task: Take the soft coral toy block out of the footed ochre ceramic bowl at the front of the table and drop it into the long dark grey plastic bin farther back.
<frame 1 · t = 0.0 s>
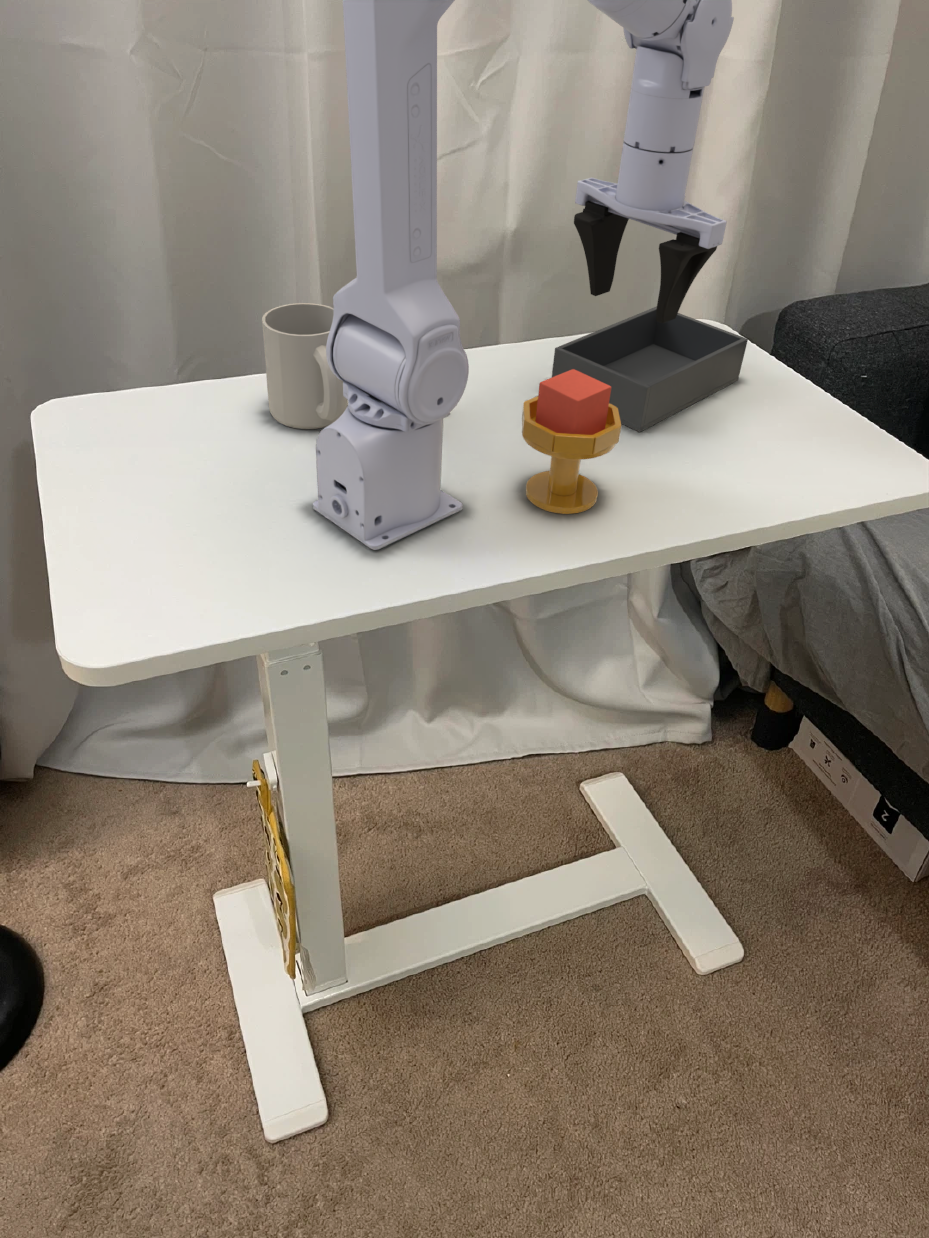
hand: (632, 306, 90), 10 cm above the table, tool pointing down, fingers open, 7 cm apart
bowl: (561, 494, 84), on the table
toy: (569, 430, 80), point 6 cm above the table, touching bowl
cup: (315, 420, 92), on the table
bin: (645, 385, 101), on the table
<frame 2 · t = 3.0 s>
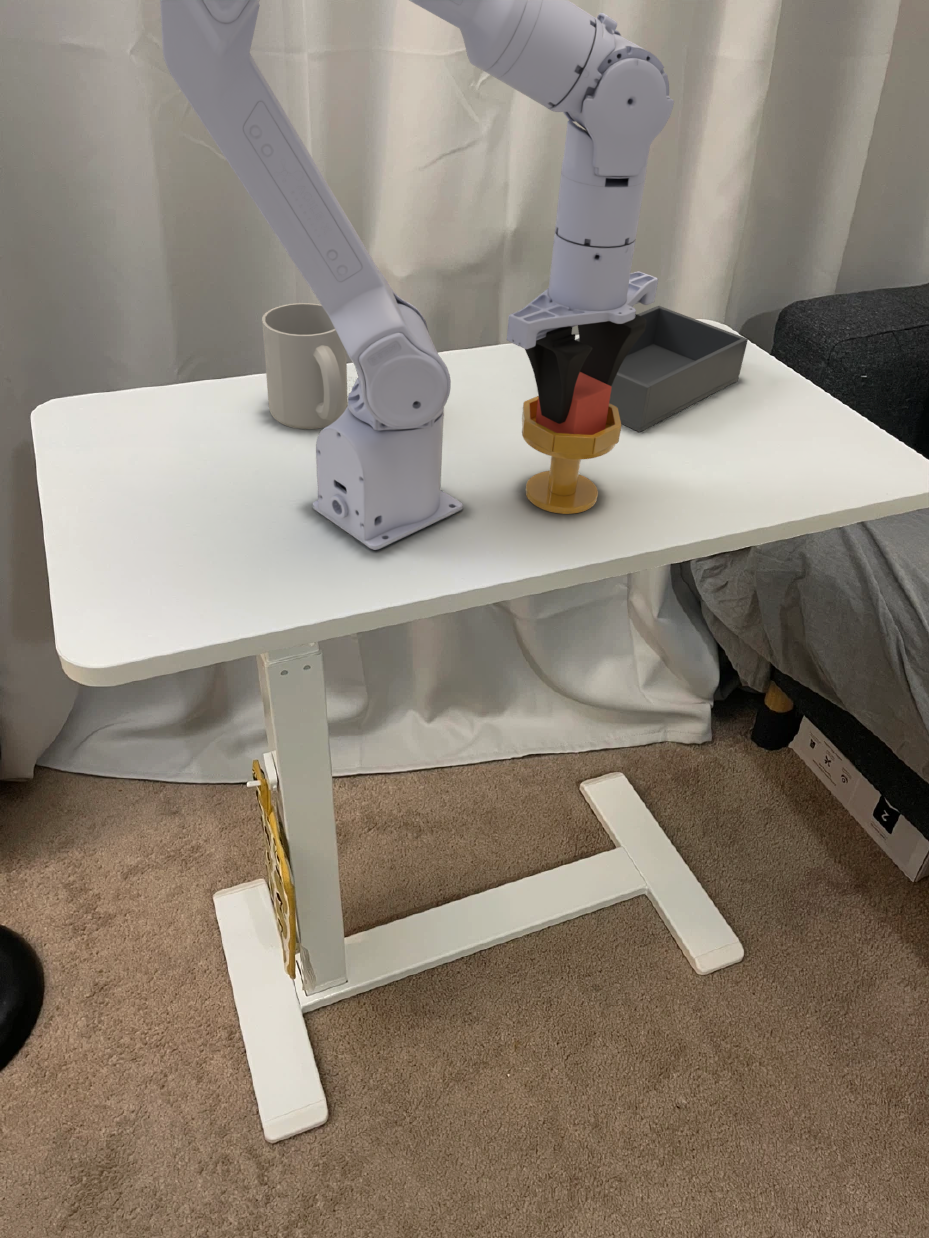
hand: (572, 410, 79), 8 cm above the table, tool pointing down, fingers closed on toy, 4 cm apart
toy: (569, 430, 80), point 6 cm above the table, touching bowl, gripper
everything else where it was.
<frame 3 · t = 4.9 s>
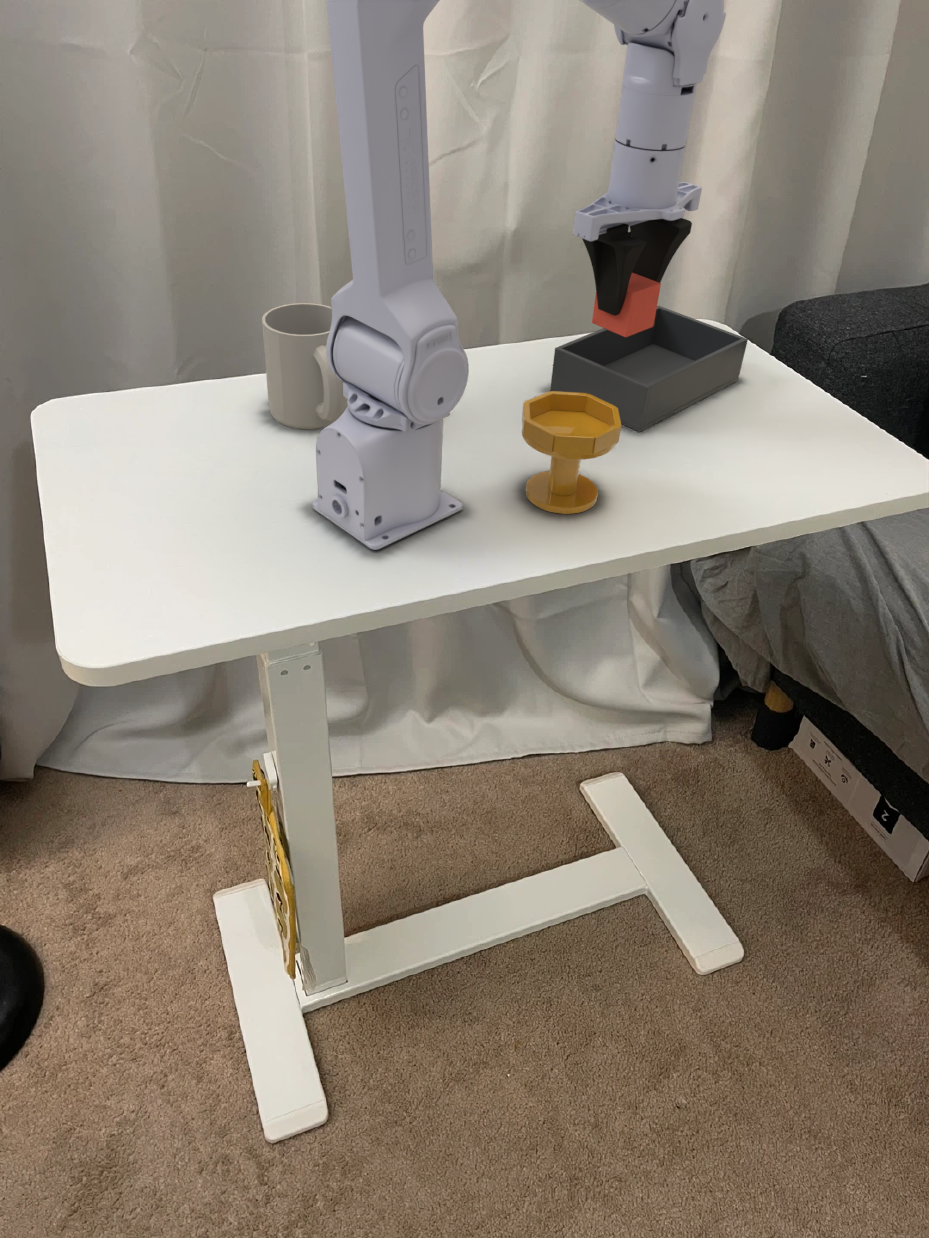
hand: (624, 305, 89), 10 cm above the table, tool pointing down, fingers closed on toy, 4 cm apart
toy: (622, 325, 90), point 9 cm above the table, touching gripper
everything else where it was.
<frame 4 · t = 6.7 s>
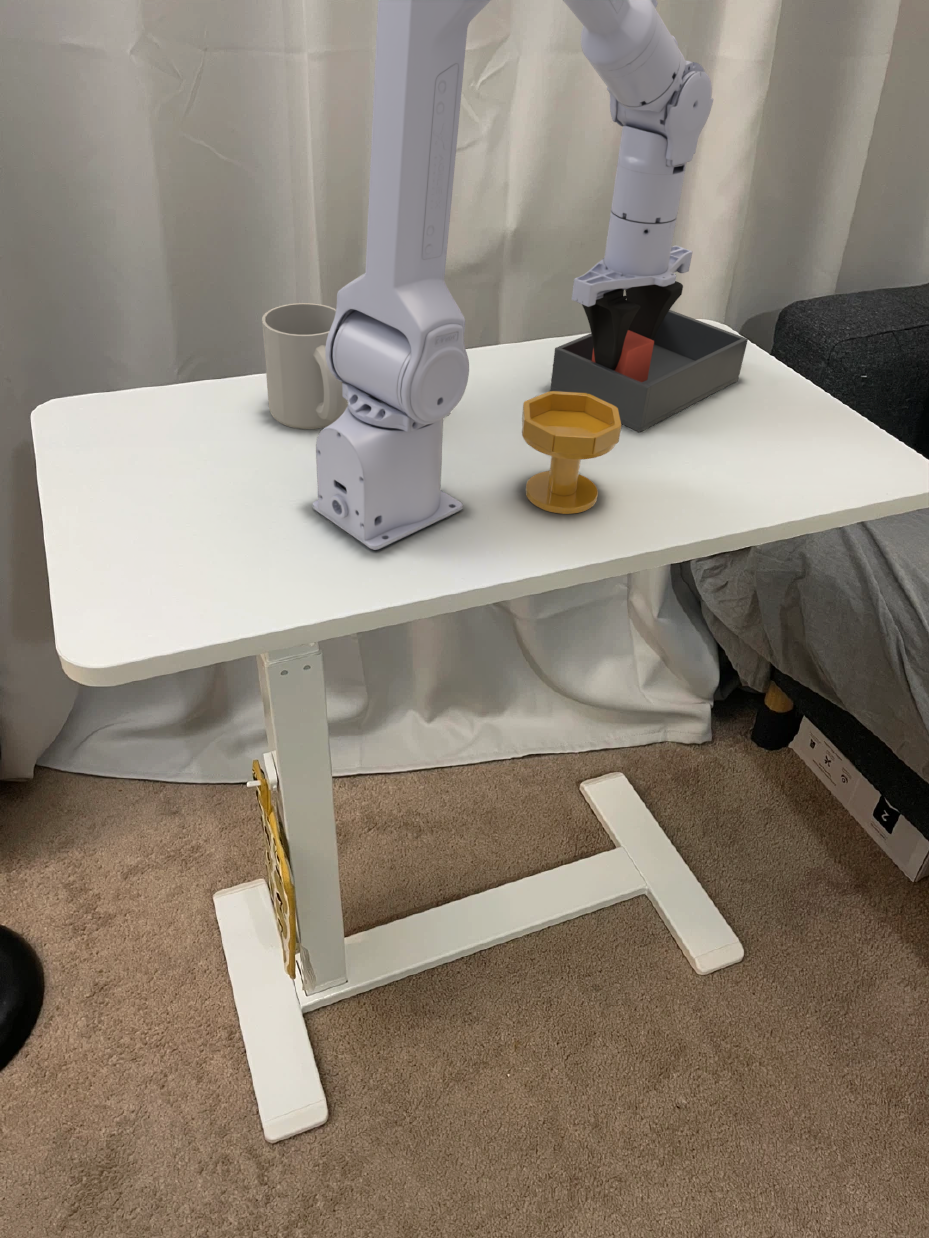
hand: (620, 361, 95), 4 cm above the table, tool pointing down, fingers closed on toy, 4 cm apart
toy: (618, 378, 96), point 2 cm above the table, touching gripper
everything else where it was.
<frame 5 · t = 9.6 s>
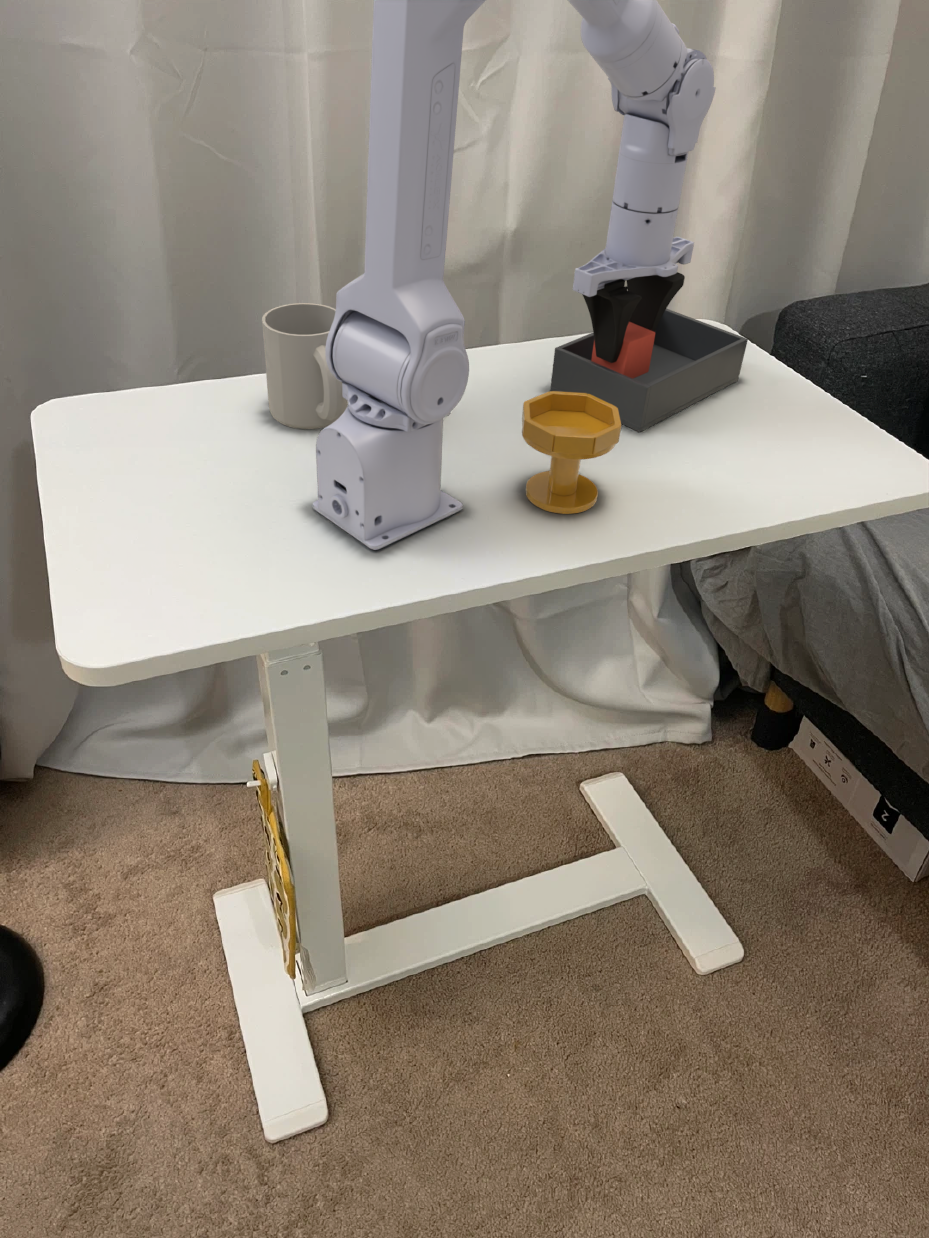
hand: (621, 352, 94), 5 cm above the table, tool pointing down, fingers closed on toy, 4 cm apart
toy: (619, 370, 96), point 3 cm above the table, touching gripper
everything else where it was.
when the fingers open (5 cm above the table, at t = 12.0 s): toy drops 3 cm, resting on bin.
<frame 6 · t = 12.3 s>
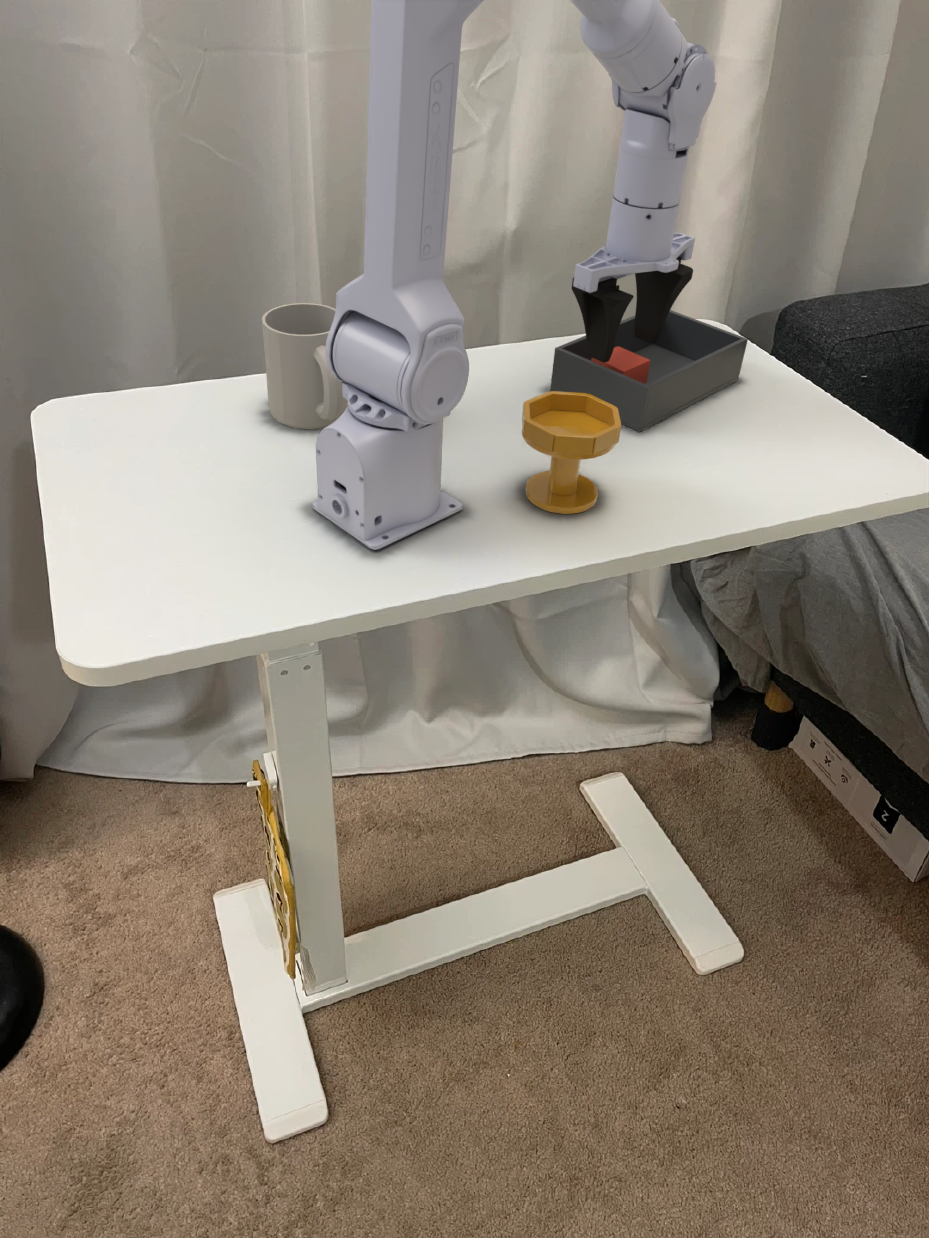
hand: (622, 349, 94), 5 cm above the table, tool pointing down, fingers open, 6 cm apart
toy: (615, 396, 97), resting on bin
everything else where it was.
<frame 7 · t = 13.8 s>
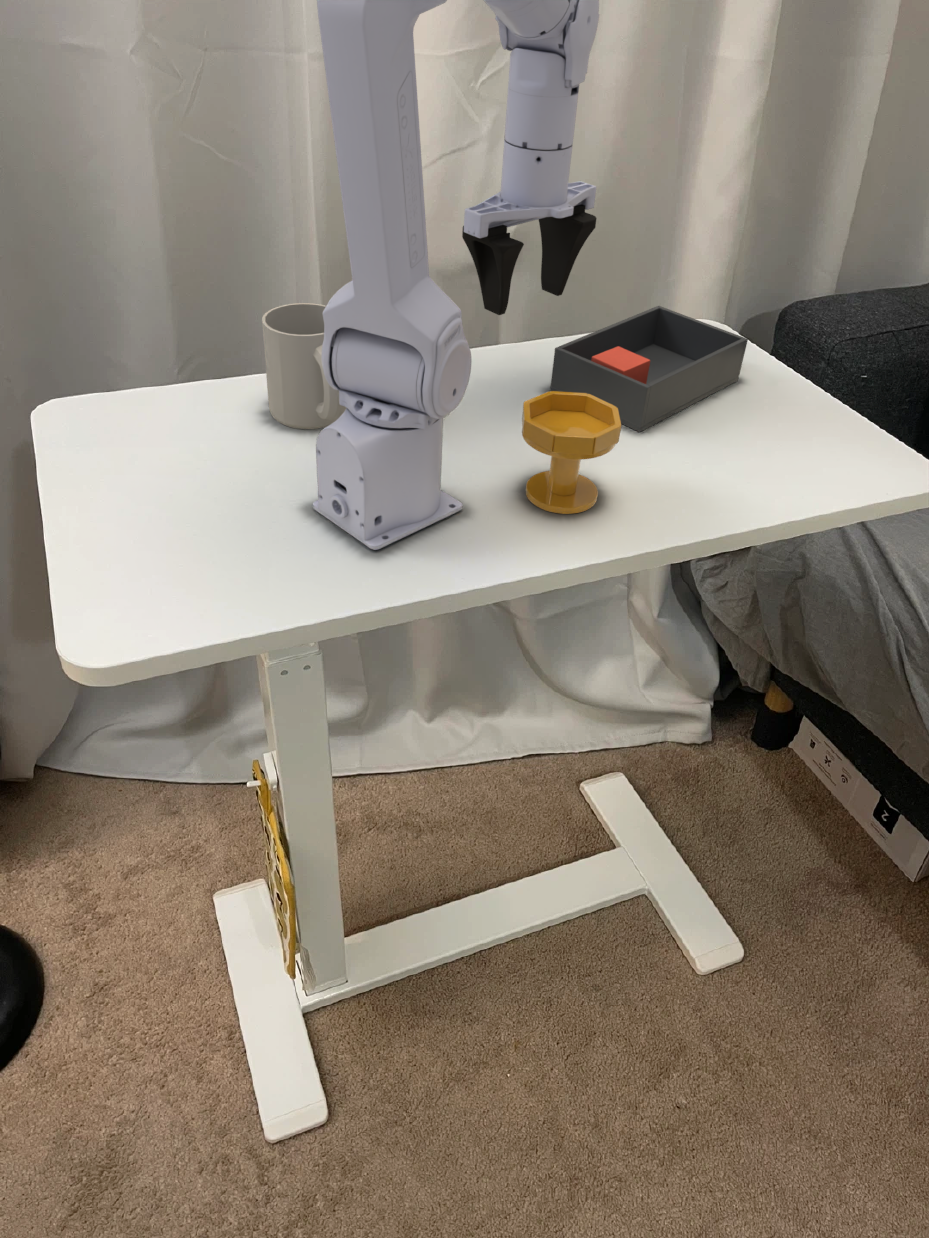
hand: (523, 301, 92), 9 cm above the table, tool pointing down, fingers open, 7 cm apart
nothing on the table moved.
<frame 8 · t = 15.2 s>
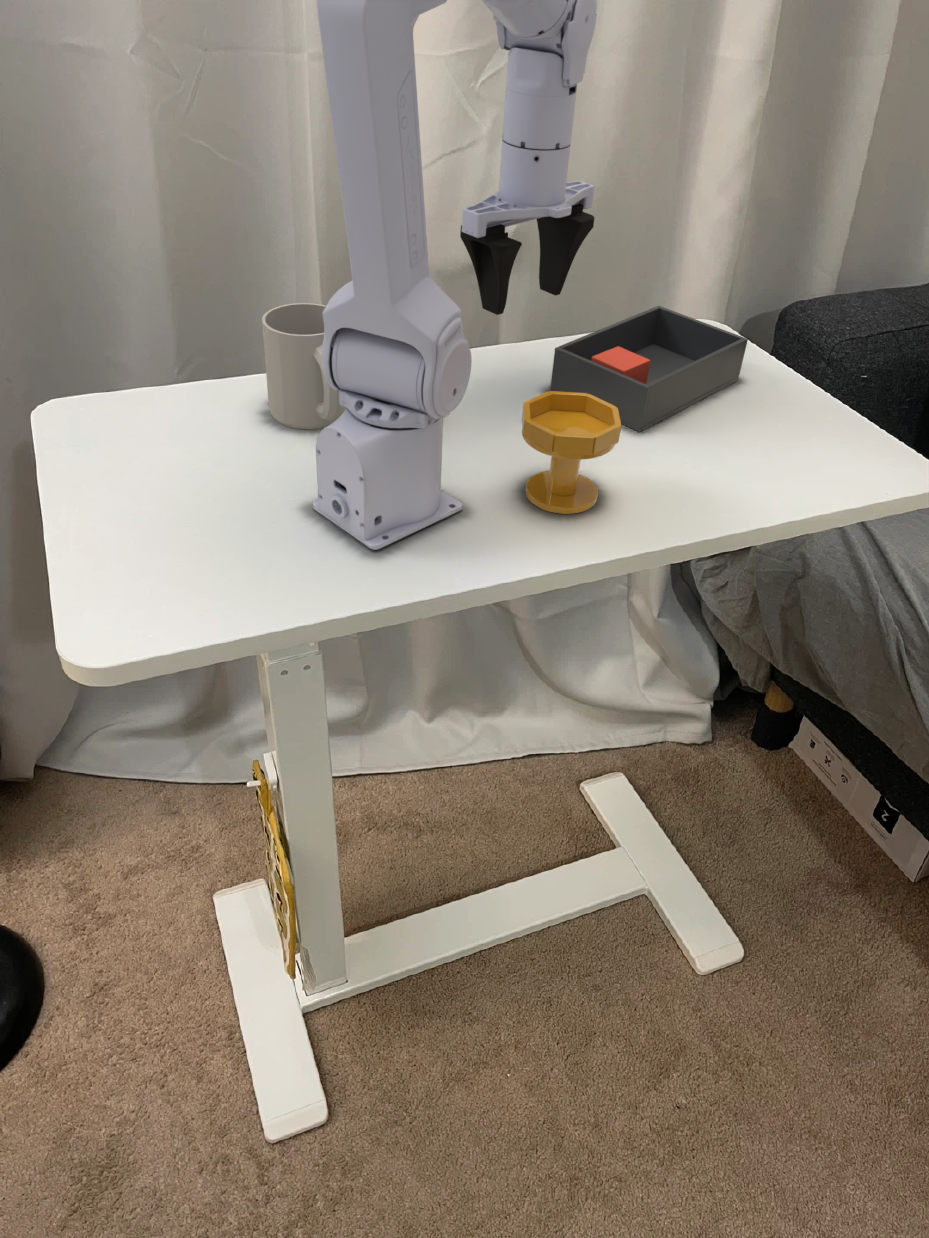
hand: (522, 301, 92), 9 cm above the table, tool pointing down, fingers open, 7 cm apart
nothing on the table moved.
at the end: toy inside the target area in the bin (5.3 cm from its centre), point 0.5 cm above the bin's base; the gripper is holding nothing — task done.
